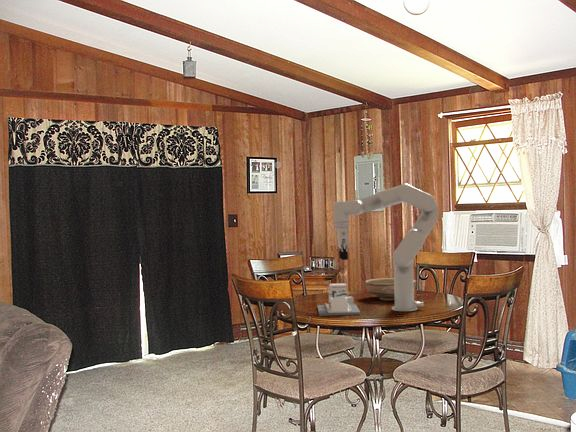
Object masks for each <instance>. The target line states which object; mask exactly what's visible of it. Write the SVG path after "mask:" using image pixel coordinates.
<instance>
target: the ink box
mask: <svg viewBox="0 0 576 432" xmlns="http://www.w3.org/2000/svg"><path fill="white" fill-rule="evenodd" d="M333 297H348V284H347V283H345V282H343V283H341V282H340V283H329V284H328V304H329V307H330V308H331V298H333Z"/></svg>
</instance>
